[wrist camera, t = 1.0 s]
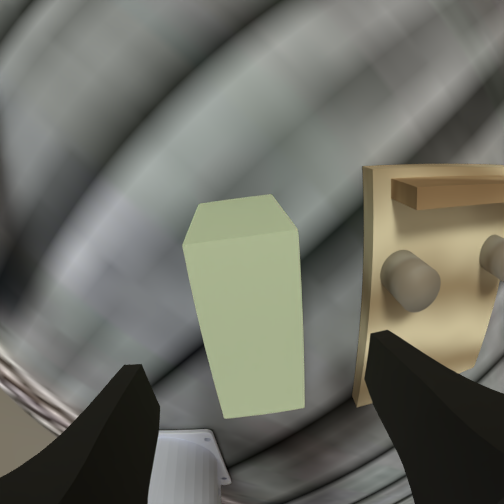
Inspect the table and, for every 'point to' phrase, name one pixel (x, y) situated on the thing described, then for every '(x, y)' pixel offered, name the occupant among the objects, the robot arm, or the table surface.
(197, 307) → the block
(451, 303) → the board
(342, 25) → the table surface
